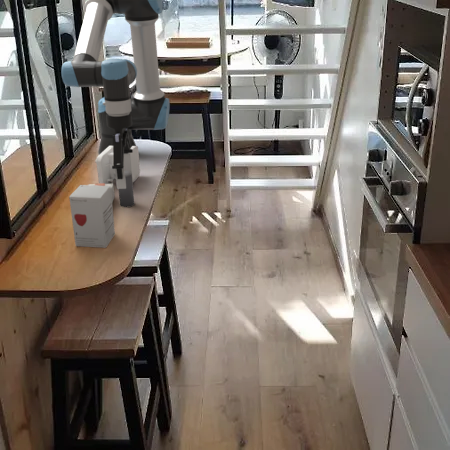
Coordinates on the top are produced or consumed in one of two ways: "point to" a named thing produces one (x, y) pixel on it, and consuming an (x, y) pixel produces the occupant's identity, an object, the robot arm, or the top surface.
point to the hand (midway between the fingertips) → (124, 180)
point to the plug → (127, 192)
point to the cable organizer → (106, 163)
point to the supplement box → (92, 215)
